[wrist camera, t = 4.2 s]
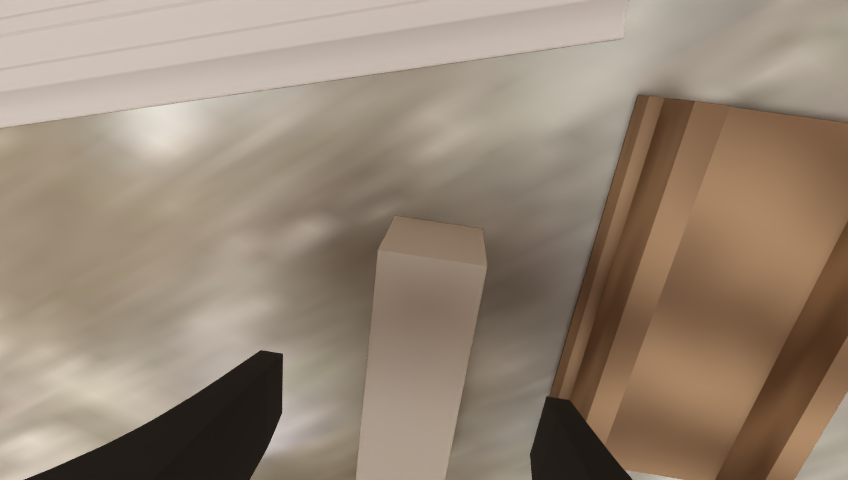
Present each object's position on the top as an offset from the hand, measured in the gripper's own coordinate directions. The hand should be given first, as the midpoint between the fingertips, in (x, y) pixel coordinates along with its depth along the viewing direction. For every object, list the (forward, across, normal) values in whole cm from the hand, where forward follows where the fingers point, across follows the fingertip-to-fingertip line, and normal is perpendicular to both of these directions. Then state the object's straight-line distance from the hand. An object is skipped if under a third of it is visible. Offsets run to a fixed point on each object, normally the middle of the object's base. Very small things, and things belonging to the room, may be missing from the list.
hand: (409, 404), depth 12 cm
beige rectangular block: (+8, 0, +3) cm, 8 cm away
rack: (+7, -11, -1) cm, 13 cm away
